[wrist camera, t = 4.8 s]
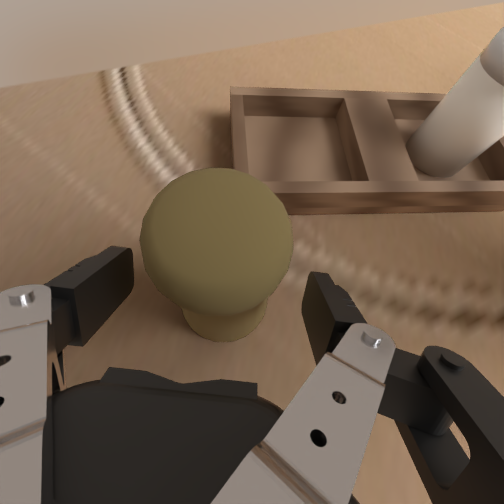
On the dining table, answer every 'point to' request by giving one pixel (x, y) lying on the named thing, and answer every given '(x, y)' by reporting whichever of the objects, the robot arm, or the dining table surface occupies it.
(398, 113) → the cruet caddy
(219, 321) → the olive mushroom knob
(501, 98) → the salt shaker
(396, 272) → the dining table surface
